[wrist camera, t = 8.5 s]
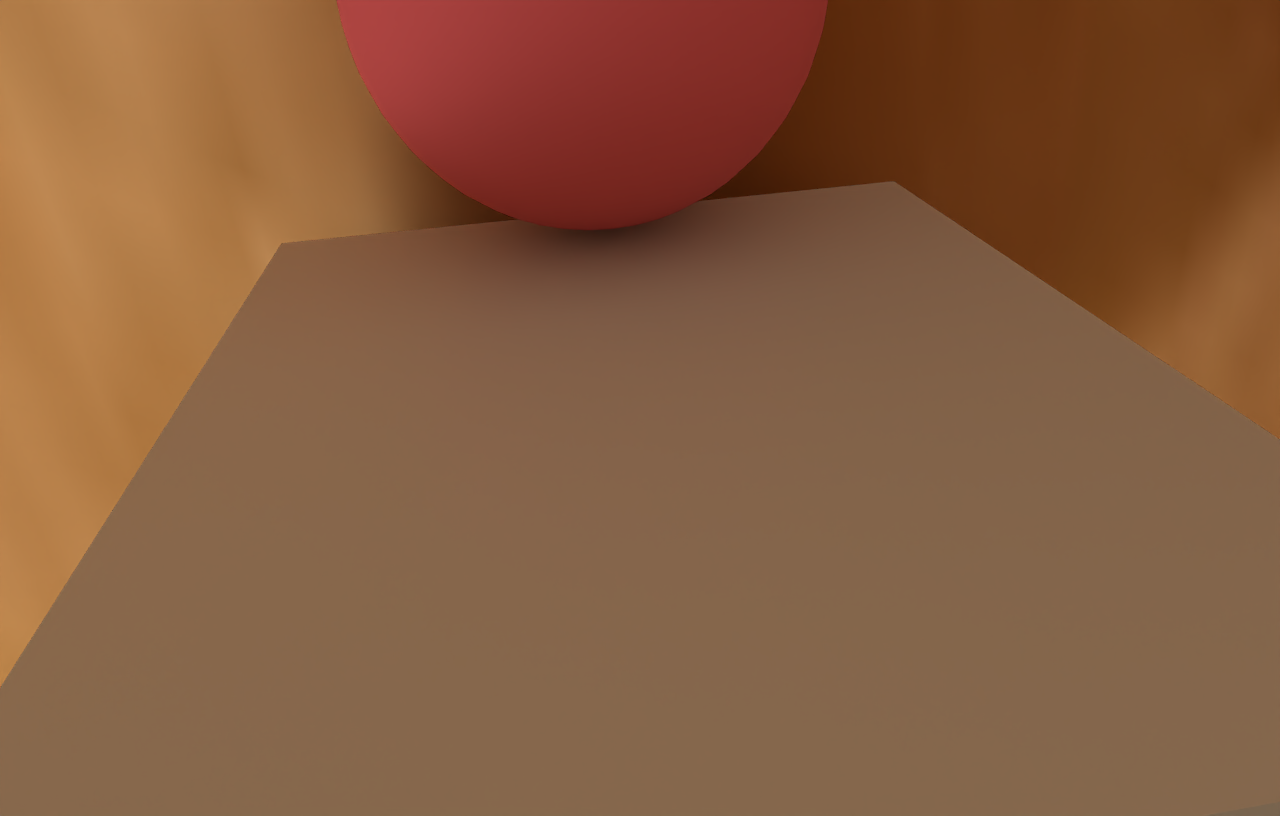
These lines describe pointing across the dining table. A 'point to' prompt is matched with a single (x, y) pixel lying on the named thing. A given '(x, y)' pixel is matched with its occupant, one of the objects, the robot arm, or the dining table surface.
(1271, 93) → the dining table surface
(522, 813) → the matte cream cube
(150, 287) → the dining table surface
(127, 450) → the dining table surface
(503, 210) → the ball
